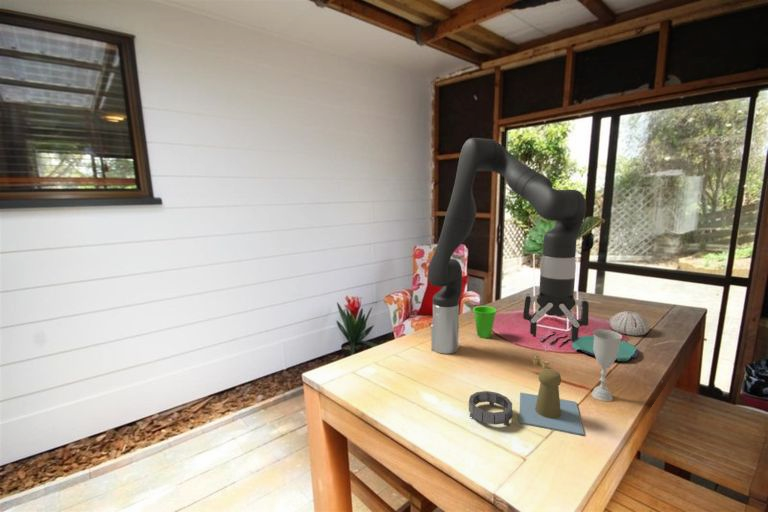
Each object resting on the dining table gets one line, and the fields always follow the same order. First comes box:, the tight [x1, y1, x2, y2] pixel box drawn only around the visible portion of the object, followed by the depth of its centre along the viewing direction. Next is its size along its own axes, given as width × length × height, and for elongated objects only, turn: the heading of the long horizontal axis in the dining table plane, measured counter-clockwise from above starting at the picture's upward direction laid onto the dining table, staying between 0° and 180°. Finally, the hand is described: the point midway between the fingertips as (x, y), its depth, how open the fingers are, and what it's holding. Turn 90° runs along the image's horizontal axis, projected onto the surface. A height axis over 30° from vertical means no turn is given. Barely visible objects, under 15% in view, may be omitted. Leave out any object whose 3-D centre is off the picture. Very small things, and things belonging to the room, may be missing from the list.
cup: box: [472, 305, 498, 339], centre depth 141 cm, size 9×9×11 cm
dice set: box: [532, 355, 549, 369], centre depth 118 cm, size 5×5×2 cm
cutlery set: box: [539, 335, 639, 362], centre depth 130 cm, size 20×30×2 cm, turn 44°
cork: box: [535, 368, 562, 419], centre depth 90 cm, size 6×6×11 cm
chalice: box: [590, 328, 623, 402], centre depth 97 cm, size 7×7×18 cm
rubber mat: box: [518, 392, 585, 437], centre depth 91 cm, size 14×14×1 cm
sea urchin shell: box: [609, 310, 650, 337], centre depth 143 cm, size 13×14×8 cm
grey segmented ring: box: [468, 390, 513, 427], centre depth 91 cm, size 10×10×4 cm
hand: (553, 338), depth 88 cm, fingers open, 8 cm apart
